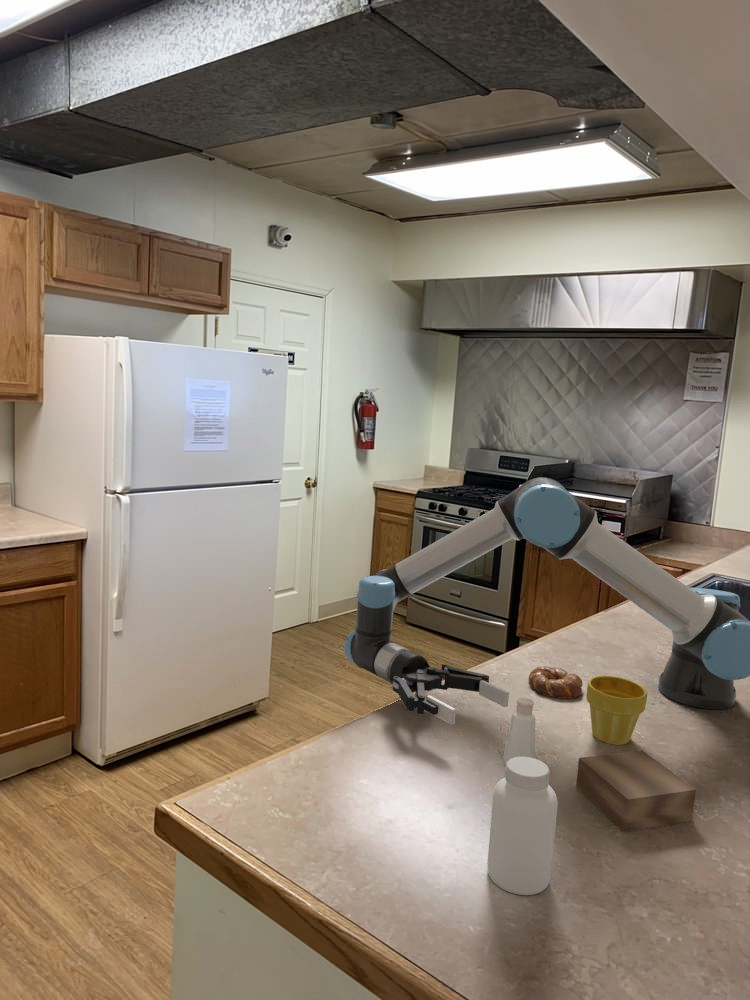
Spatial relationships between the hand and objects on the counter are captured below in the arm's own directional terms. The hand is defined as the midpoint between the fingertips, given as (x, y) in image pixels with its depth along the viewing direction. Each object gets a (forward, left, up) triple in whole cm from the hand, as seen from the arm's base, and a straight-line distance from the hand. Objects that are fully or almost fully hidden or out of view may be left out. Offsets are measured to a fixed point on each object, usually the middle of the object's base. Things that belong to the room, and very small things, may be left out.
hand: (481, 708), depth 129 cm
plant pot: (-25, +4, -6) cm, 26 cm away
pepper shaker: (-3, +9, -6) cm, 11 cm away
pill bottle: (+12, +35, -6) cm, 37 cm away
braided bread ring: (-27, -18, -6) cm, 33 cm away
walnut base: (-14, +24, -6) cm, 28 cm away
